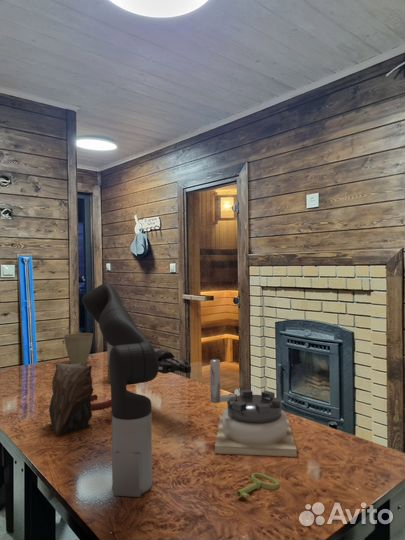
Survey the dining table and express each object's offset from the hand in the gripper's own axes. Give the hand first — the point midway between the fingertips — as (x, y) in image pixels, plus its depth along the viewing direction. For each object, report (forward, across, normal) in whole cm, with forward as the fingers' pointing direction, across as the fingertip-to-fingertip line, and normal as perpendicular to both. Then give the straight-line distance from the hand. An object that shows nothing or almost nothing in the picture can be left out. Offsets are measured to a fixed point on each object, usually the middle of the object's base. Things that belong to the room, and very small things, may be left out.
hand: (188, 369), depth 125 cm
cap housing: (+17, +11, +17) cm, 27 cm away
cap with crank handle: (+16, +10, +12) cm, 22 cm away
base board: (+17, +12, +19) cm, 28 cm away
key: (+36, -8, +20) cm, 42 cm away
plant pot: (-107, +6, +19) cm, 109 cm away
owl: (-27, -30, +19) cm, 44 cm away
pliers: (-41, -18, +20) cm, 49 cm away
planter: (-64, +9, +19) cm, 68 cm away
